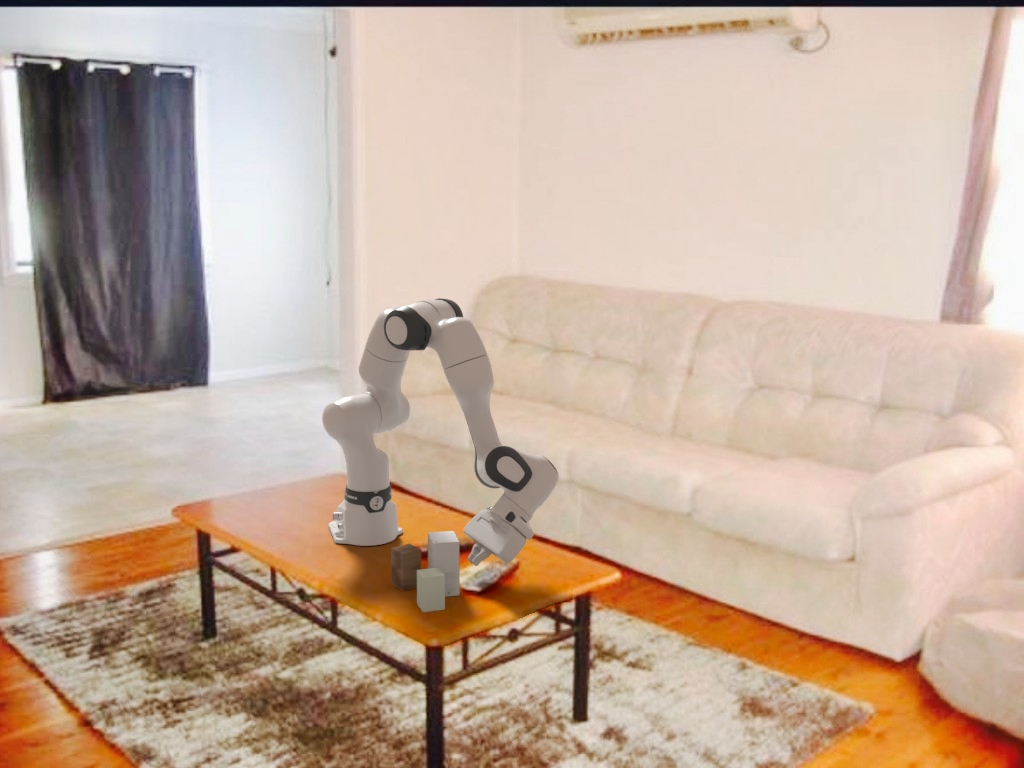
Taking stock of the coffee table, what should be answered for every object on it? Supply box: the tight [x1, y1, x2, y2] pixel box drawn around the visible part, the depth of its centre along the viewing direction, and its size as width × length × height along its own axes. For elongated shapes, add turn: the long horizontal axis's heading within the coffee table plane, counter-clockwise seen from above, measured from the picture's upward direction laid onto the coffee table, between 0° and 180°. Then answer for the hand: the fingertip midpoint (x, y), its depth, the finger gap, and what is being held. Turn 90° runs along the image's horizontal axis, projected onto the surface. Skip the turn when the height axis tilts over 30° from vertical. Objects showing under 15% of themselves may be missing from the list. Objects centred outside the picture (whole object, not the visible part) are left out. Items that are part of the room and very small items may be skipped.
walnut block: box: [390, 543, 422, 592], centre depth 241 cm, size 5×5×9 cm
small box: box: [427, 530, 461, 598], centre depth 238 cm, size 8×6×13 cm
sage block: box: [416, 567, 446, 613], centre depth 229 cm, size 5×5×8 cm
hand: (471, 562), depth 241 cm, fingers closed
